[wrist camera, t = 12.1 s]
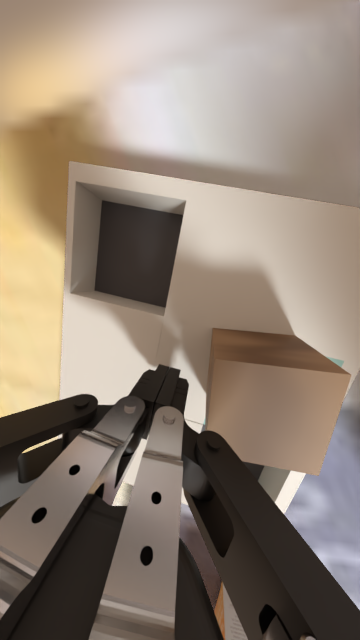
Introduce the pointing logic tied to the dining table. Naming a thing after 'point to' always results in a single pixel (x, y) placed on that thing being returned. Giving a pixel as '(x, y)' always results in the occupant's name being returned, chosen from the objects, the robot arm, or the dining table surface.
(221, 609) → the small box
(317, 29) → the dining table surface
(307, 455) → the walnut block
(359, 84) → the dining table surface
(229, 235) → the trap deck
